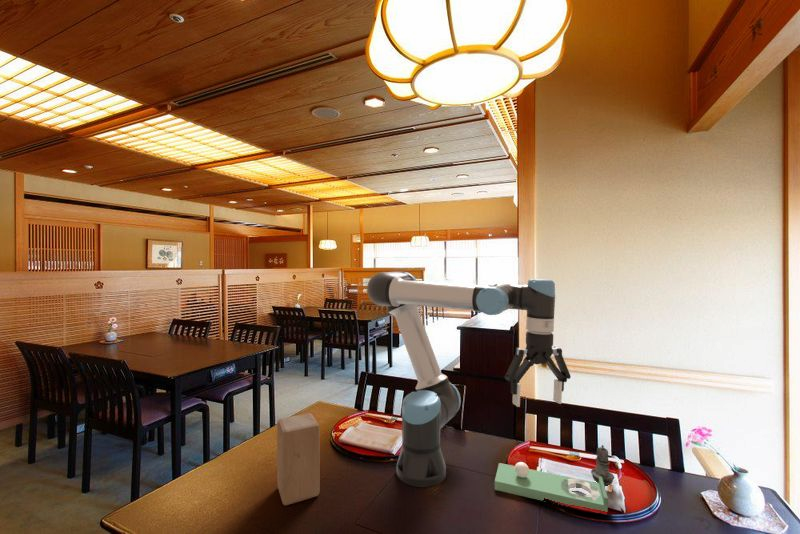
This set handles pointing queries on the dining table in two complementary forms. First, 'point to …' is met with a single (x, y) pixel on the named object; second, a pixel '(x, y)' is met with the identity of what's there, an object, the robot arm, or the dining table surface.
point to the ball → (521, 469)
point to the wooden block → (298, 458)
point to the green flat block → (551, 487)
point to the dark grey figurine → (602, 467)
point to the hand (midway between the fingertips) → (536, 403)
